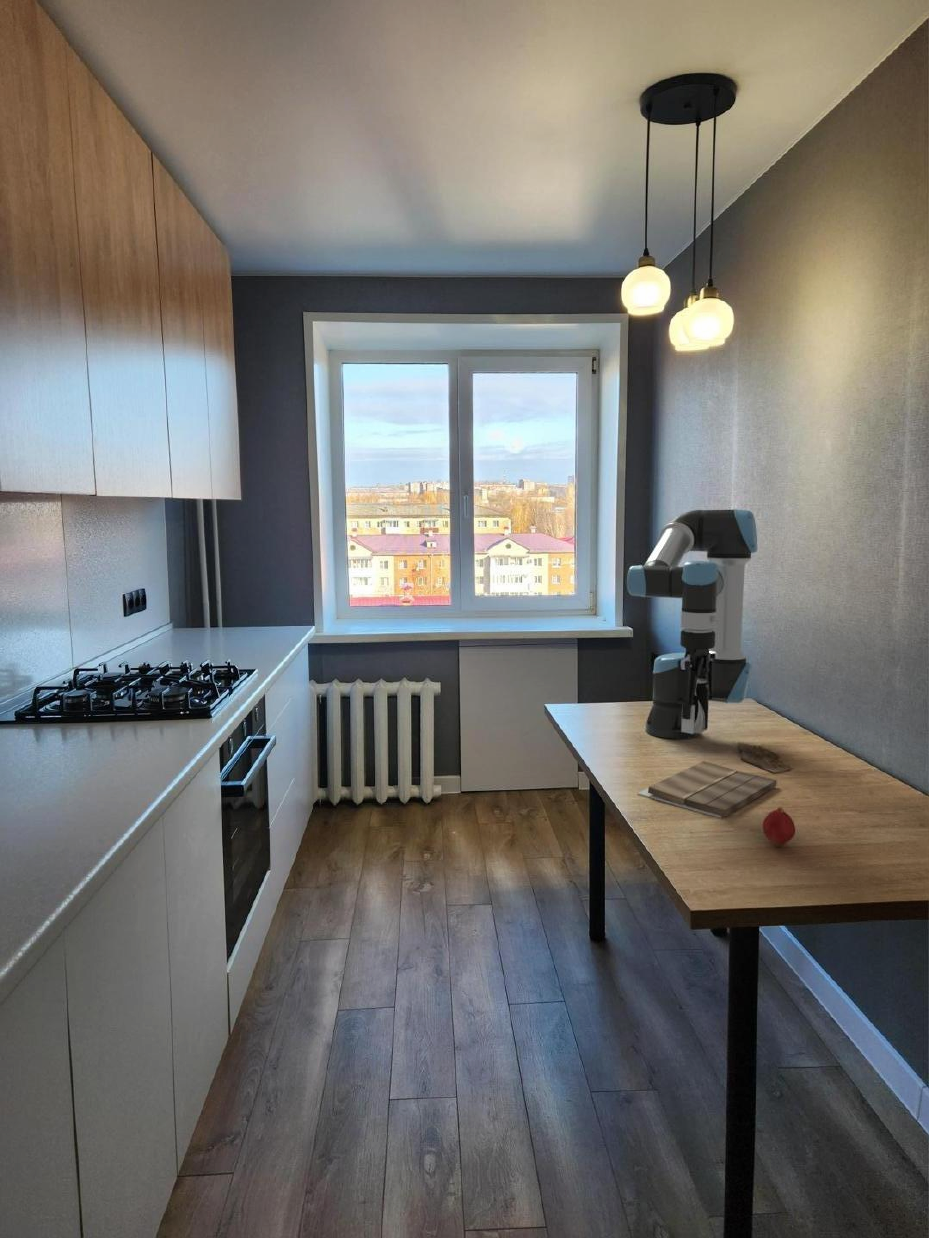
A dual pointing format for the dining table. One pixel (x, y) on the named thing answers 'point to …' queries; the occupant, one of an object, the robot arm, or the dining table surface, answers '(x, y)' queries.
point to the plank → (690, 782)
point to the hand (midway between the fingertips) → (694, 729)
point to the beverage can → (701, 706)
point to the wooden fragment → (762, 758)
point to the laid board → (731, 793)
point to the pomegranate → (778, 827)
